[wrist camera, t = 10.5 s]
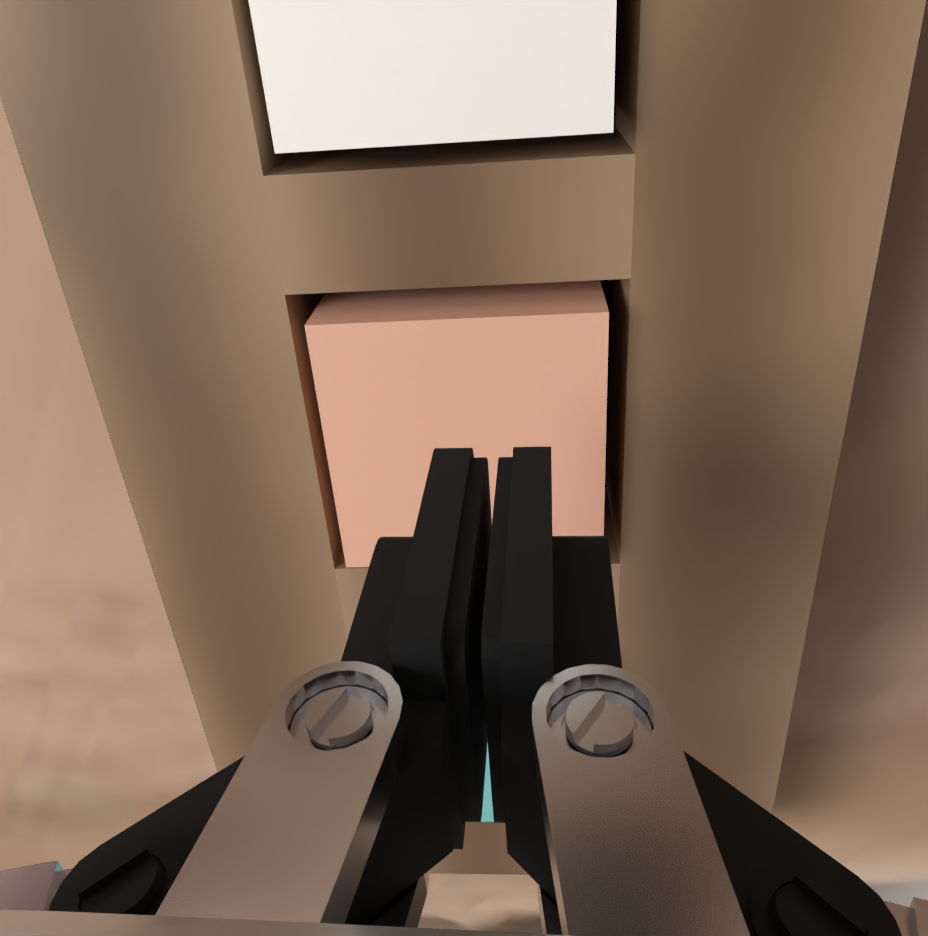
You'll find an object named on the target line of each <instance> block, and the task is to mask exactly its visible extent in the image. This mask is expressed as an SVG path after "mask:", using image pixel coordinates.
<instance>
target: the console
mask: <svg viewBox="0 0 928 936" xmlns="http://www.w3.org/2000/svg"><path fill="white" fill-rule="evenodd" d="M925 5H926V0H619V17H618V56H617V95H616V127H614V130H613V133H600V134H584V135H567V136H551V137H535V138H519V139H503V140H487V141H471V142H454V143H438V144H422V145H406V146H390V147H374V148H357V149H341V150H325V151H309V152H293V153H277V154H275V152H274V146H273V140H272V135H271V129H270V123H269V117H268V111H267V106H266V100H265V94H264V88H263V82H262V77H261V71H260V65H259V59H258V53H257V48H256V42H255V36H254V30H253V25H252V19H251V13H250V7H249V1H248V0H0V97H1V100H2V103H3V106H4V109H5V113H6V116H7V119H8V122H9V125H10V128H11V131H12V134H13V137H14V141H15V144H16V147H17V150H18V153H19V156H20V159H21V162H22V165H23V168H24V172H25V175H26V178H27V181H28V184H29V187H30V190H31V193H32V196H33V200H34V203H35V206H36V209H37V212H38V215H39V218H40V221H41V224H42V228H43V231H44V234H45V237H46V240H47V243H48V246H49V249H50V252H51V256H52V259H53V262H54V265H55V268H56V271H57V274H58V277H59V280H60V284H61V287H62V290H63V293H64V296H65V299H66V302H67V305H68V308H69V311H70V315H71V318H72V321H73V324H74V327H75V330H76V333H77V336H78V339H79V343H80V346H81V349H82V352H83V355H84V358H85V361H86V364H87V367H88V371H89V374H90V377H91V380H92V383H93V386H94V389H95V392H96V395H97V399H98V402H99V405H100V408H101V411H102V414H103V417H104V420H105V423H106V427H107V430H108V433H109V436H110V439H111V442H112V445H113V448H114V451H115V455H116V458H117V461H118V464H119V467H120V470H121V473H122V476H123V479H124V482H125V486H126V489H127V492H128V495H129V498H130V501H131V504H132V507H133V510H134V514H135V517H136V520H137V523H138V526H139V529H140V532H141V535H142V538H143V542H144V545H145V548H146V551H147V554H148V557H149V560H150V563H151V566H152V570H153V573H154V576H155V579H156V582H157V585H158V588H159V591H160V594H161V598H162V601H163V604H164V607H165V610H166V613H167V616H168V619H169V622H170V626H171V629H172V632H173V635H174V638H175V641H176V644H177V647H178V650H179V653H180V657H181V660H182V663H183V666H184V669H185V672H186V675H187V678H188V681H189V685H190V688H191V691H192V694H193V697H194V700H195V703H196V706H197V709H198V713H199V716H200V719H201V722H202V725H203V728H204V731H205V734H206V737H207V741H208V744H209V747H210V750H211V753H212V756H213V759H214V762H215V765H216V769H217V772H219V771H221V770H222V769H224V768H226V767H227V766H229V765H230V764H232V763H234V762H235V761H237V760H238V759H240V758H242V757H243V756H245V755H246V753H247V751H248V750H249V748H250V746H251V744H252V742H253V741H254V739H255V737H256V735H257V734H258V732H259V730H260V728H261V727H262V725H263V723H264V721H265V719H266V718H267V716H268V714H269V712H270V711H271V709H272V707H273V705H274V704H275V702H276V700H277V699H278V697H279V696H280V695H281V693H282V692H283V691H284V690H285V688H286V687H287V686H288V685H289V684H290V683H291V682H293V681H294V680H295V679H297V678H298V677H299V676H301V675H302V674H303V673H305V672H308V671H310V670H312V669H314V668H316V667H319V666H321V665H325V664H330V663H334V662H339V661H341V659H342V656H343V652H344V649H345V646H346V642H347V639H348V636H349V632H350V629H351V626H352V622H353V619H354V616H355V612H356V609H357V605H358V602H359V599H360V595H361V592H362V589H363V585H364V582H365V579H366V575H367V572H368V569H369V567H346V564H345V558H344V552H343V546H342V540H341V535H340V529H339V523H338V517H337V511H336V506H335V500H334V494H333V488H332V482H331V477H330V471H329V465H328V459H327V454H326V448H325V442H324V436H323V430H322V425H321V419H320V413H319V407H318V401H317V396H316V390H315V384H314V378H313V372H312V367H311V361H310V355H309V349H308V343H307V338H306V332H305V326H304V325H305V324H306V322H307V321H308V319H309V318H310V316H311V314H312V313H313V311H314V310H315V308H316V307H317V305H318V304H319V302H320V301H321V299H322V298H323V296H324V295H325V293H335V292H356V291H378V290H399V289H420V288H442V287H463V286H485V285H506V284H527V283H549V282H570V281H591V280H612V292H611V331H610V371H609V410H608V450H607V488H605V502H604V536H607V537H608V543H609V551H610V560H611V569H612V579H613V588H614V597H615V606H616V615H617V624H618V634H619V643H620V652H621V661H622V669H626V670H628V671H630V672H632V673H634V674H636V675H638V676H640V677H642V678H644V679H645V680H646V681H647V682H648V683H650V684H651V685H652V686H653V687H654V688H655V689H656V690H657V691H658V692H659V693H660V695H661V697H662V699H663V700H664V702H665V704H666V706H667V707H668V710H669V713H670V716H671V718H672V721H673V724H674V727H675V729H676V732H677V735H678V738H679V741H680V743H681V746H682V749H683V751H685V752H686V753H688V754H689V755H690V756H692V757H693V758H695V759H696V760H697V761H699V762H700V763H701V764H703V765H704V766H706V767H707V768H708V769H710V770H711V771H713V772H714V773H715V774H717V775H718V776H719V777H721V778H722V779H724V780H725V781H726V782H728V783H729V784H731V785H732V786H733V787H735V788H736V789H737V790H739V791H740V792H742V793H743V794H744V795H746V796H747V797H749V798H750V799H751V800H753V801H754V802H756V803H757V804H758V805H760V806H761V807H762V808H764V809H765V810H767V811H768V812H769V813H771V814H772V812H773V806H774V801H775V796H776V791H777V785H778V780H779V775H780V770H781V764H782V759H783V754H784V748H785V743H786V738H787V733H788V727H789V722H790V717H791V712H792V706H793V701H794V696H795V690H796V685H797V680H798V675H799V669H800V664H801V659H802V654H803V648H804V643H805V638H806V633H807V627H808V622H809V617H810V611H811V606H812V601H813V596H814V590H815V585H816V580H817V575H818V569H819V564H820V559H821V553H822V548H823V543H824V538H825V532H826V527H827V522H828V517H829V511H830V506H831V501H832V496H833V490H834V485H835V480H836V474H837V469H838V464H839V459H840V453H841V448H842V443H843V438H844V432H845V427H846V422H847V416H848V411H849V406H850V401H851V395H852V390H853V385H854V380H855V374H856V369H857V364H858V358H859V353H860V348H861V343H862V337H863V332H864V327H865V322H866V316H867V311H868V306H869V301H870V295H871V290H872V285H873V279H874V274H875V269H876V264H877V258H878V253H879V248H880V243H881V237H882V232H883V227H884V221H885V216H886V211H887V206H888V200H889V195H890V190H891V185H892V179H893V174H894V169H895V163H896V158H897V153H898V148H899V142H900V137H901V132H902V127H903V121H904V116H905V111H906V106H907V100H908V95H909V90H910V84H911V79H912V74H913V69H914V63H915V58H916V53H917V48H918V42H919V37H920V32H921V26H922V21H923V16H924V11H925ZM428 872H429V873H453V874H523V875H529V874H528V873H527V872H526V871H525V870H524V869H523V868H522V867H521V866H520V865H519V864H518V863H517V862H516V861H515V860H514V859H513V858H512V857H511V856H510V855H509V854H508V853H507V840H506V825H505V823H494V822H466V824H465V834H464V845H463V849H453V851H452V852H451V853H450V854H449V855H447V856H446V857H445V858H444V859H443V860H441V861H440V862H439V863H438V864H436V865H435V866H434V867H433V868H431V869H430V870H429V871H428Z"/></svg>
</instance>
